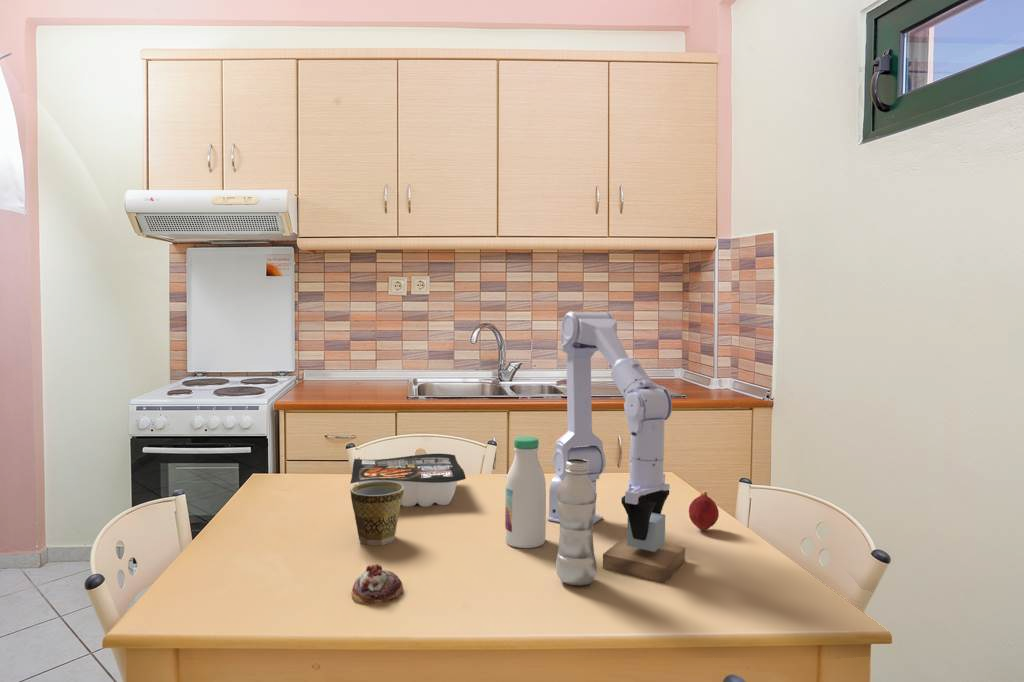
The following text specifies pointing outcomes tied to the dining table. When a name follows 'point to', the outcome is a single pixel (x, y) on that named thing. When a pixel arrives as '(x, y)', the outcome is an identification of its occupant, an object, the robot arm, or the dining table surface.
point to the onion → (703, 512)
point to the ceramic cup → (376, 510)
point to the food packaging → (414, 476)
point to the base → (644, 560)
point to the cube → (649, 534)
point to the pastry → (376, 586)
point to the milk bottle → (525, 497)
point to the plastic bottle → (576, 525)
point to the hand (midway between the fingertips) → (645, 534)
